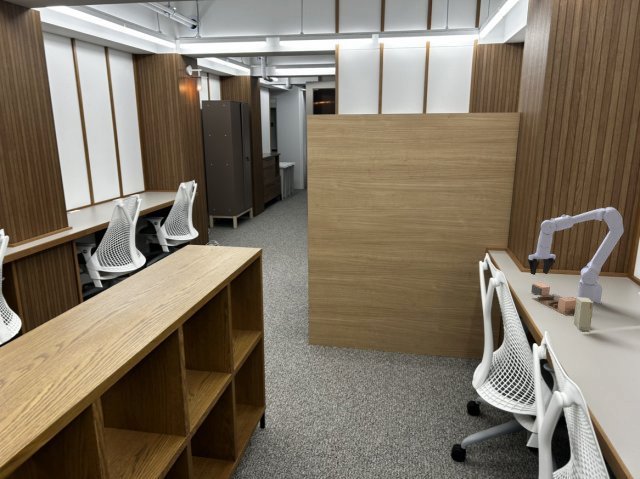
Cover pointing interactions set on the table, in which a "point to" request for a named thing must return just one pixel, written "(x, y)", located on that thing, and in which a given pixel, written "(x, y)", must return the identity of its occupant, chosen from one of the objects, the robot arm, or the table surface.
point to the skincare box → (583, 314)
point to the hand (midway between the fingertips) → (538, 273)
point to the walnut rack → (553, 303)
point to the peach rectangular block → (540, 289)
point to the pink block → (566, 304)
